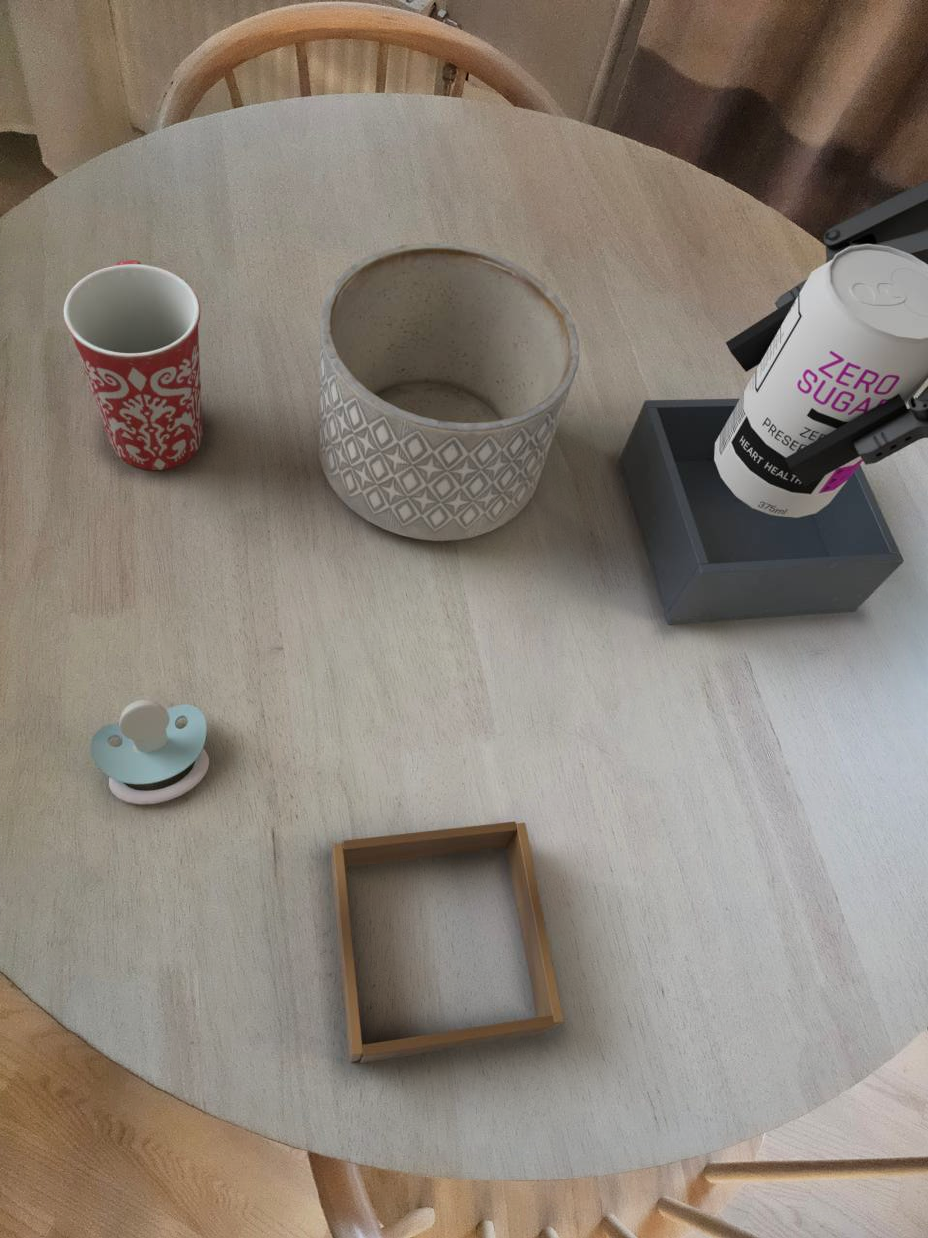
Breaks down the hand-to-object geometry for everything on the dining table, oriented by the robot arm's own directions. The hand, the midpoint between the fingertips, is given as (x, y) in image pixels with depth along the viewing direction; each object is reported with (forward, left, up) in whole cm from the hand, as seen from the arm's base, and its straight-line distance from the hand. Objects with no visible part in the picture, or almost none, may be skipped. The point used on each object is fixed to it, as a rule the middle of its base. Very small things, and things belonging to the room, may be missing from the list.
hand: (764, 412), depth 56 cm
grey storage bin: (+7, -10, -23) cm, 26 cm away
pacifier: (-9, +37, -23) cm, 45 cm away
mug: (+21, +37, -23) cm, 49 cm away
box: (-23, +20, -23) cm, 38 cm away
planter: (+16, +15, -23) cm, 32 cm away
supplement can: (0, -3, -6) cm, 7 cm away
